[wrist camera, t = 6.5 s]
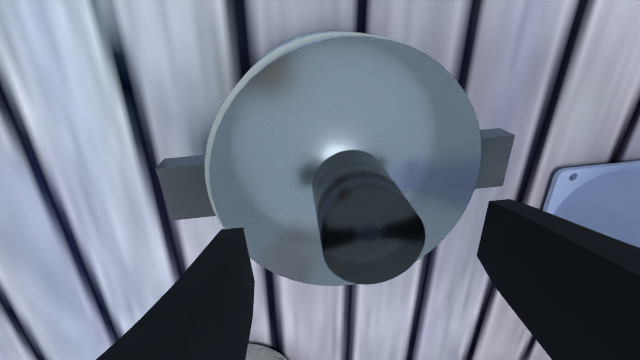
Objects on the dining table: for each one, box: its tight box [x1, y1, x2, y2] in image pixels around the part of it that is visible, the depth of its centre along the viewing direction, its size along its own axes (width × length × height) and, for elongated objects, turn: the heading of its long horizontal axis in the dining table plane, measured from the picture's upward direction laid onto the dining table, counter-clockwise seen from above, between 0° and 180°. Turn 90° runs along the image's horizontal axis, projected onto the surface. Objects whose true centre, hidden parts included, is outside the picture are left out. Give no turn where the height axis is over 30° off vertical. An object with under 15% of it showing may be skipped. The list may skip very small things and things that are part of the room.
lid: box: [209, 36, 481, 286], centre depth 10 cm, size 10×10×4 cm
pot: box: [156, 31, 515, 229], centre depth 15 cm, size 15×11×5 cm
